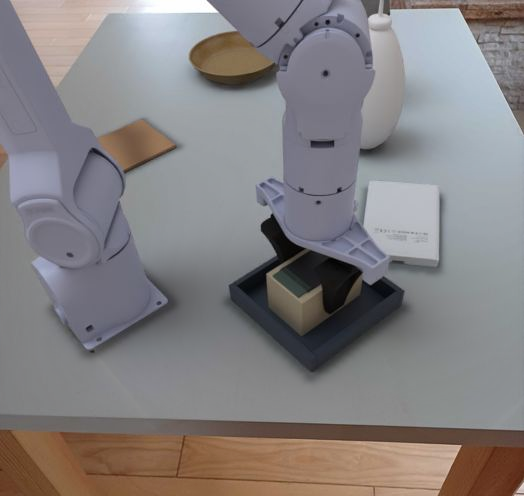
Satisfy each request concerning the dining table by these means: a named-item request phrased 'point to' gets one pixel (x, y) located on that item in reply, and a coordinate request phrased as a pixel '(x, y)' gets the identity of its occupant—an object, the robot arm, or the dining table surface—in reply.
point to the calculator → (301, 291)
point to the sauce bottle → (383, 83)
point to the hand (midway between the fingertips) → (315, 292)
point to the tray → (327, 332)
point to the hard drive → (404, 221)
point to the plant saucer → (229, 59)
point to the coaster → (135, 144)
